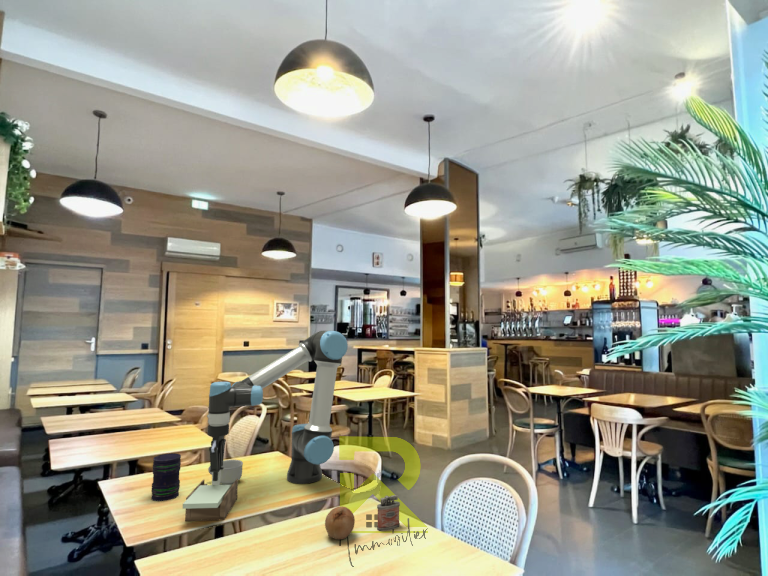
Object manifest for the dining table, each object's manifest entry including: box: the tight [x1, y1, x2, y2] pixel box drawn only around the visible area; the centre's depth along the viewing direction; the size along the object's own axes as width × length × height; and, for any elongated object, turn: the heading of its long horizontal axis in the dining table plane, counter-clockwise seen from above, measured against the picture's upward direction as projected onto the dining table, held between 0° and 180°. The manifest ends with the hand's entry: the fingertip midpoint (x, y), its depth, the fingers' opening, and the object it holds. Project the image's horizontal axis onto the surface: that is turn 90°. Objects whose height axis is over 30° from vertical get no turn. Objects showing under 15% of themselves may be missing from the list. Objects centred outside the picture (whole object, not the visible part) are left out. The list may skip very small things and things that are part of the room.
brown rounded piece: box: [324, 506, 356, 541], centre depth 138 cm, size 10×9×10 cm
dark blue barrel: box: [151, 452, 182, 502], centre depth 170 cm, size 10×10×15 cm
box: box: [184, 479, 239, 522], centre depth 158 cm, size 18×13×8 cm
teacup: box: [207, 459, 244, 486], centre depth 185 cm, size 14×11×8 cm
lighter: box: [376, 494, 401, 532], centre depth 145 cm, size 8×3×10 cm, turn 115°
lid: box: [182, 484, 232, 510], centre depth 153 cm, size 17×11×2 cm, turn 5°
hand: (215, 488), depth 162 cm, fingers closed
